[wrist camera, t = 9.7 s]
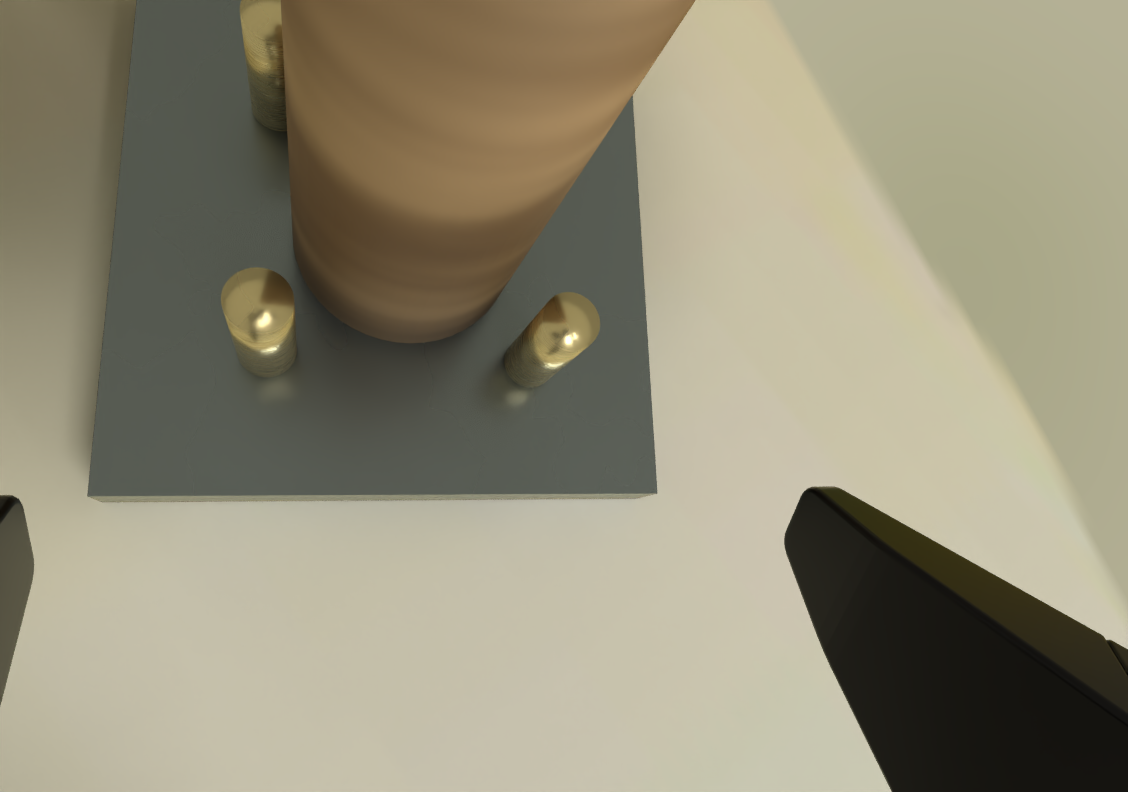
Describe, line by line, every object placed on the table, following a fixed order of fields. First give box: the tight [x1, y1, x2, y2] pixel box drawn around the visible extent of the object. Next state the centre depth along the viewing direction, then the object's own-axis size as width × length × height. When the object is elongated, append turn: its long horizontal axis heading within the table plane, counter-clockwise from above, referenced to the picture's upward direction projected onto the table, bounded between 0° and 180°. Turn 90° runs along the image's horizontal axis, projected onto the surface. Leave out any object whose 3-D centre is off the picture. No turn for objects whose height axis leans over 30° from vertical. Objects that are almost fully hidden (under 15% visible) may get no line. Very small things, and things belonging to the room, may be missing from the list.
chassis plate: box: [87, 0, 657, 502], centre depth 17 cm, size 12×12×4 cm
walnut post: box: [281, 0, 695, 343], centre depth 12 cm, size 5×5×13 cm
